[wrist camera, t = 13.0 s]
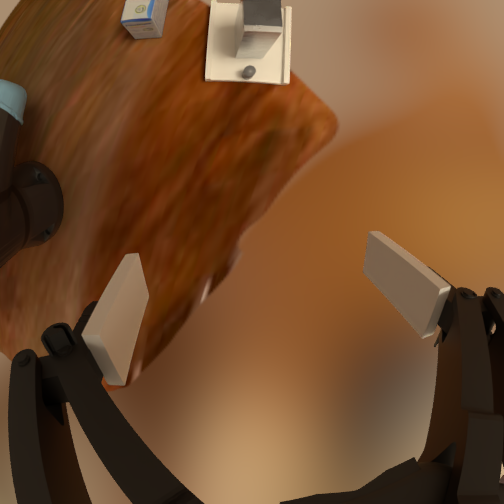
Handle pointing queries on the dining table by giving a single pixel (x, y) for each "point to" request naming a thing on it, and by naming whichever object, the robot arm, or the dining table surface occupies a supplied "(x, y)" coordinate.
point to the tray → (244, 69)
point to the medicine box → (144, 18)
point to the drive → (257, 27)
